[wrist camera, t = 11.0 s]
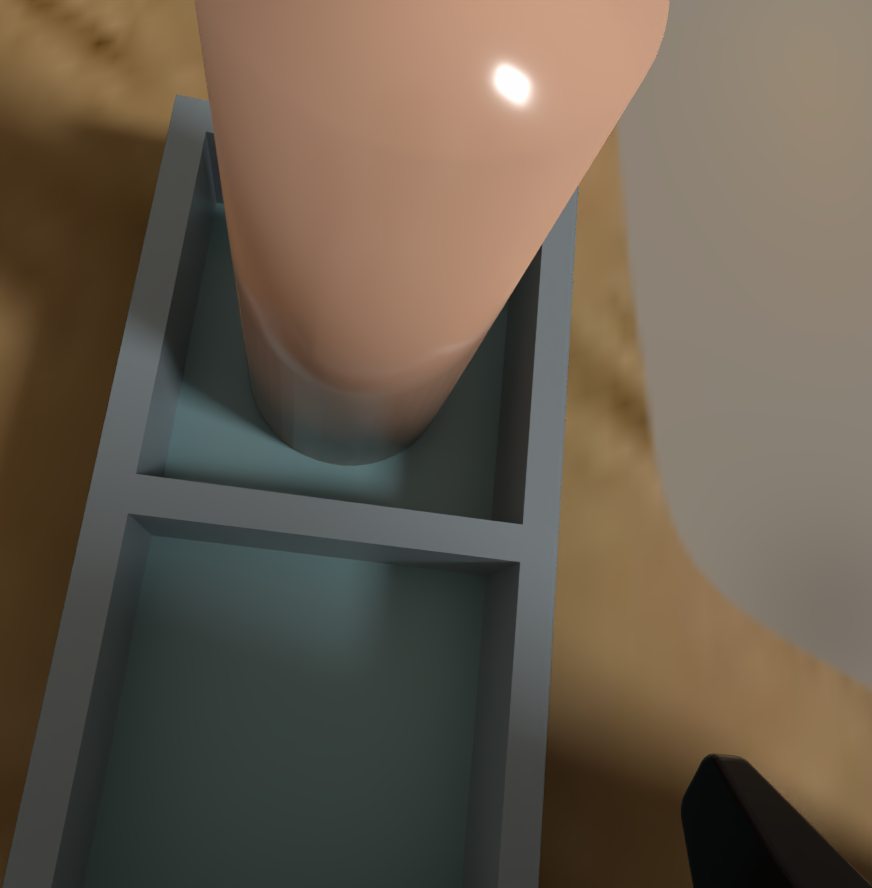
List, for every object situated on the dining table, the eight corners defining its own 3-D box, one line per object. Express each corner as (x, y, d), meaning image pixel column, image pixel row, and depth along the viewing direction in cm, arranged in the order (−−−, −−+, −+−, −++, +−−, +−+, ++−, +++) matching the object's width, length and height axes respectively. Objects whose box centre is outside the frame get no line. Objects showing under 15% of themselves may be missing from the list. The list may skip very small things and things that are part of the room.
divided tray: (484, 975, 18) (529, 1047, 15) (33, 954, 17) (-29, 1027, 13) (536, 243, 23) (578, 174, 20) (192, 180, 22) (176, 94, 18)
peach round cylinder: (484, 381, 21) (758, -1, 9) (340, 506, 20) (429, 256, 7) (356, 244, 22) (448, -308, 9) (205, 357, 20) (74, -121, 8)
